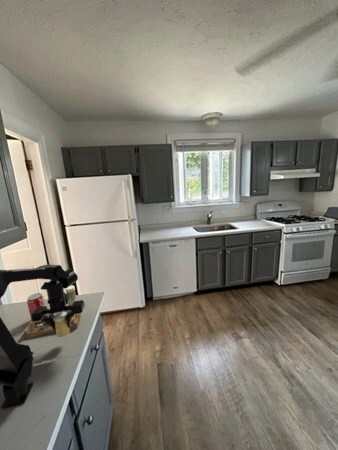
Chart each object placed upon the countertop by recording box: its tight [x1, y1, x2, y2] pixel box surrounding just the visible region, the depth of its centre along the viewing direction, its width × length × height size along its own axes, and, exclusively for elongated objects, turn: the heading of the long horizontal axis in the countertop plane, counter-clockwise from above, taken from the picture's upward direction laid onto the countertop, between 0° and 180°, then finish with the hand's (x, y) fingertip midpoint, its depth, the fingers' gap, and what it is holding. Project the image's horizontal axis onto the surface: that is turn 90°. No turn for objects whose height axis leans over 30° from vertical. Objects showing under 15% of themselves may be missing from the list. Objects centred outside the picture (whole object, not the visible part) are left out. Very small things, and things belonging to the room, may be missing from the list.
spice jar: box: [66, 311, 75, 324], centre depth 96 cm, size 5×5×5 cm
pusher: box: [36, 322, 49, 330], centre depth 93 cm, size 6×4×4 cm
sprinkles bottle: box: [64, 285, 78, 306], centre depth 108 cm, size 5×5×13 cm
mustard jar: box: [53, 311, 71, 338], centre depth 82 cm, size 5×5×8 cm
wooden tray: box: [22, 313, 82, 339], centre depth 95 cm, size 9×22×4 cm, turn 102°
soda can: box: [26, 292, 46, 320], centre depth 102 cm, size 7×7×13 cm
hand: (62, 328), depth 83 cm, fingers closed on mustard jar, 5 cm apart
